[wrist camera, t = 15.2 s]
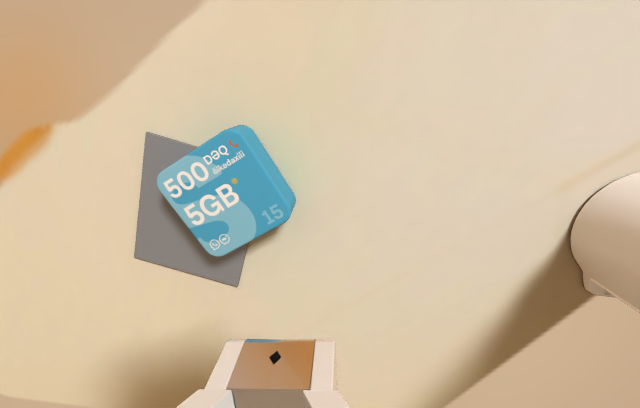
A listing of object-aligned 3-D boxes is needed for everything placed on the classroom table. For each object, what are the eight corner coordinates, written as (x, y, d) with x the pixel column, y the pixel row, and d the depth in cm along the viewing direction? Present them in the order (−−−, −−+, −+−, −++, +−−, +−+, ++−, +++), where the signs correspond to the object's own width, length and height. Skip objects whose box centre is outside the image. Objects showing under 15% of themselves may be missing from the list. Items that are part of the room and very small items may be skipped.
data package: (213, 261, 39) (149, 179, 36) (226, 244, 43) (169, 169, 40) (296, 217, 36) (234, 123, 33) (300, 203, 40) (246, 119, 37)
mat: (266, 167, 39) (265, 168, 39) (238, 285, 45) (237, 286, 45) (147, 131, 39) (146, 132, 38) (135, 255, 45) (134, 257, 45)
